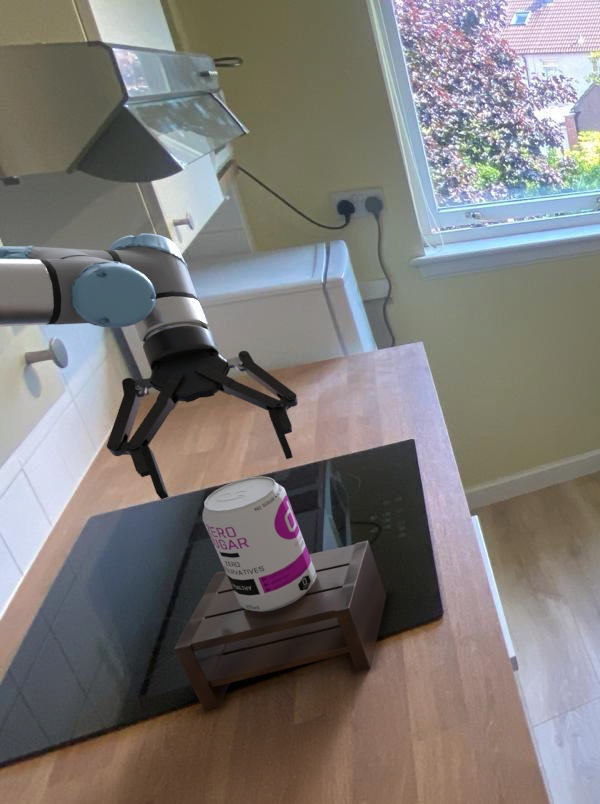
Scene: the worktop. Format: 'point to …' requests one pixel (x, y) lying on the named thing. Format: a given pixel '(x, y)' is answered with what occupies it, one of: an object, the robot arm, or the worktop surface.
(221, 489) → the white drink can
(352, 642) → the rack
